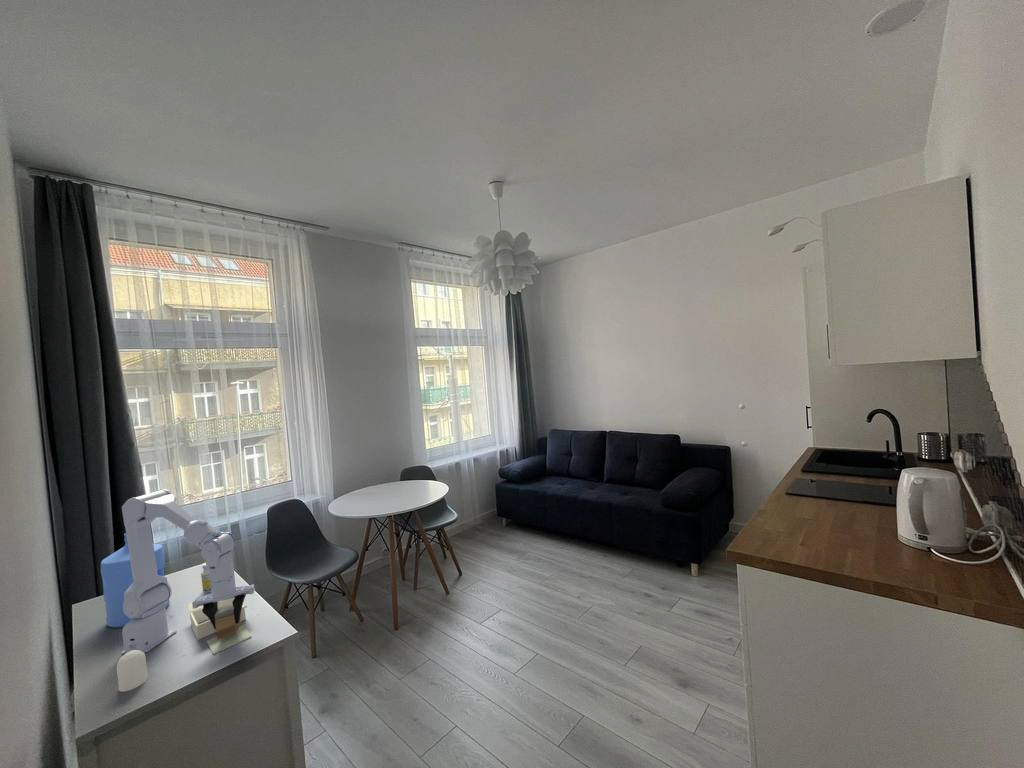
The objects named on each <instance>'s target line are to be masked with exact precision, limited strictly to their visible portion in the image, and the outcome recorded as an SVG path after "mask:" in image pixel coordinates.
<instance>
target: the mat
mask: <svg viewBox="0 0 1024 768" xmlns="http://www.w3.org/2000/svg"><path fill="white" fill-rule="evenodd" d="M251 638H252V635H251V632H249V630H248V629H247V628H246V627H245V625H244V624H243V625H240V627H239V629H238V631H237V634H236V635H232V636H229V637H225V638H222V639H218V640H217V636H214V637H212V638H210V639H208V640H207V641H206V642H207V645H208V646H209V649H210V651H211V654H212V655H213V654H214V655H216V654H219V653H220V652H219V651H221V650H223V651H224V649H225V650H227V649H229V648H231V647H230V646H232V647H233V645H234V646H236V645H238V644H240V643H242V642H245V641H247V640H249V639H251ZM228 647H229V648H228ZM226 648H227V649H226ZM221 652H222V651H221ZM215 653H216V654H215Z"/></svg>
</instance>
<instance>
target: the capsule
mask: <svg viewBox="0 0 1024 768" xmlns="http://www.w3.org/2000/svg"><path fill="white" fill-rule="evenodd" d="M116 663H117V665H116V674H117V683H118V684H117V685H118V691H119V692H122V693H123V692H128V691H132V690H133V689H136V688H138V687H139V686H141V685H143V684H144V683H145V682H147V680H148V679H149V676H148V667H147V658H146V654H145V653H144V652H142V651H140V650H132V651H129V652H127V653H124V654H123V655H122V656H121V657H120V658H119V660H118V661H117V662H116Z"/></svg>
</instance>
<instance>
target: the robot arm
mask: <svg viewBox="0 0 1024 768" xmlns="http://www.w3.org/2000/svg"><path fill="white" fill-rule="evenodd" d="M121 512H122V518H123V524H124V525H123V526H124V528H125V533H126V535H127V542H128V549H129V555H130V562H131V569H132V575H133V583H132V585H131V586H130V587H129V588H128V589H127V591H126V592H125V593H124V603H123V612H124V614H125V615H126V616H127V617H129V618H130V619H131V621H130V622H129V623H128V624H126V625H125V626H124V627H122V630H121V631H122V632H121V634H122V643H123V650H122V651H121V654H126V653H127V652H129V651H132V650H140V651H142V652H144V654H145V653H148V652H149V651H151V650H152V649H154V648H155V647H157V646H158V645H159V644H161V643H162V642H164V641H166V640H167V639H168V638H170V637H171V636H172V635H174V634H175V633H177V632H178V631H177V630H176V629H173V630H171V629H170V630H169V627H168V626H169V625H168V617H167V607H165V605H167V604H168V601H167V600H169V601H170V599H171V597H172V591H173V590H172V588H171V585H170V584H169V581H168V577H166V576H165V575H164V576H160V575H158V572H157V565H156V559H155V552H154V545H153V544H154V541H153V540H154V538H153V534H152V526H151V524H152V522H154V520H155V519H156V518H164V519H165V520H167V521H168V522H170V523H172V524H173V525H174V526H176V527H179V528H180V529H182V530H184V531H183V536H184V538H186V540H189V542H191V543H192V544H193V545H195V546H196V547H198V549H200V555H201V557H202V558H203V559H204V561H205V563H206V565H207V567H208V568H209V576H210V586H211V592H210V593H209V594H206V595H204V596H200V597H197V598H194V599H193V601H191V603H192V606H193V609H195V608H198V607H199V606H203V609H202V611H203V613H204V614H205V615H206V616H207V617H208V618H209V619H208V620H210V621H211V623H212V625H213V627H214V630H215V629H216V625H215V616H214V615H215V613H216V612H217V610H218V602H219V601H223V600H227V599H231V598H234V597H235V599H234V600H233V602H232V604H233V607H234V612H235V622H236V624H237V623H239V621H240V615H241V609H242V605H243V606H244V601H245V598H246V595H253V594H254V593H255V591H256V589H255V584H253V583H252V584H250V585H243V586H236V576H235V569H234V567H235V565H234V559H233V551H234V549H236V546H237V540H236V538H235V536H234V535H233V534H232V532H230V531H225V532H224V531H222V530H218V529H217V528H216V527H214V526H213V525H211V524H209V522H208V521H207V520H205V519H195V518H194V517H193V516H192V515H190V513H188V512H187V511H186V510H185V509H184V508H183V507H182V506H180V505H179V504H178V503H177V501H176V495H175V494H173V493H172V492H171V491H170V490H168V489H166V488H165V489H164V488H163V489H159V490H156V491H153V492H150V493H145V494H142V495H139V496H135V497H131V498H129V499H127V500H126V501H125V502H124V503H123V505H121Z"/></svg>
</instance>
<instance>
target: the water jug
mask: <svg viewBox="0 0 1024 768" xmlns="http://www.w3.org/2000/svg"><path fill="white" fill-rule="evenodd" d="M123 535H124V539H123V540H124V542H125V544H124V546H123V547H121V548H120V549H118V550H117V551H114V552H113V553H111V554H110V555H108V556H106V557H105V558H103V559H102V560H101V562H100V575H101V578H102V588H103V593H102V594H103V595H102V596H103V600H104V604H105V605H104V606H105V612H106V613H105V614H106V618H105V619H106V621H105V622H106V625H107V626H108V627H110V628H124V626H125V625H126V624H128V623H129V622H130V621H131V619H130V618H129V617H127V616H126V615H125V614H124V612H123V603H124V593H125V592H126V591H127V589H128V588H129V587H130V586H131V585H132V583H133V575H132V569H131V562H130V555H129V549H128V542H127V535H126V532H125V533H124V534H123ZM153 545H154V552H155V559H156V565H157V572H158V575H160V576H164V577H165V571H164V567H165V565H166V563H165V550H164V546H163V545H162V544H160V543H153ZM167 601H168V604H167V605H165V607H166V608H168V607H169V605H170V602H171V601H170V599H169V600H167Z"/></svg>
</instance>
